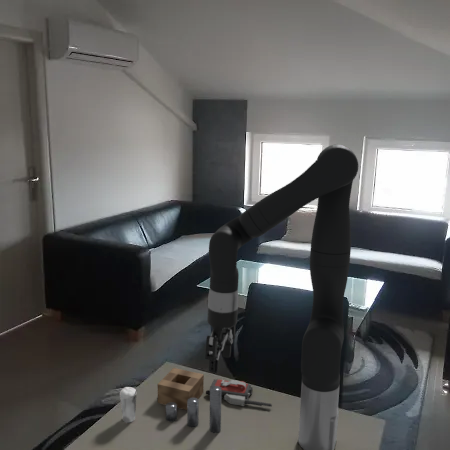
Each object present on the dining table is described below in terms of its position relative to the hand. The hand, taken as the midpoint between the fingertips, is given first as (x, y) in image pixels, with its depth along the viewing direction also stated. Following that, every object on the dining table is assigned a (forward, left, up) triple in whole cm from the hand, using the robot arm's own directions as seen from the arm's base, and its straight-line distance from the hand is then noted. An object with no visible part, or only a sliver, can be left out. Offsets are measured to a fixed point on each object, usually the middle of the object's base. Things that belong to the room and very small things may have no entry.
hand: (220, 364), depth 125 cm
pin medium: (+7, +1, -19) cm, 20 cm away
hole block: (+16, -9, -19) cm, 26 cm away
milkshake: (+24, +6, -19) cm, 31 cm away
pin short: (+14, +1, -19) cm, 24 cm away
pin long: (+1, +1, -19) cm, 19 cm away
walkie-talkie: (0, -16, -20) cm, 26 cm away
